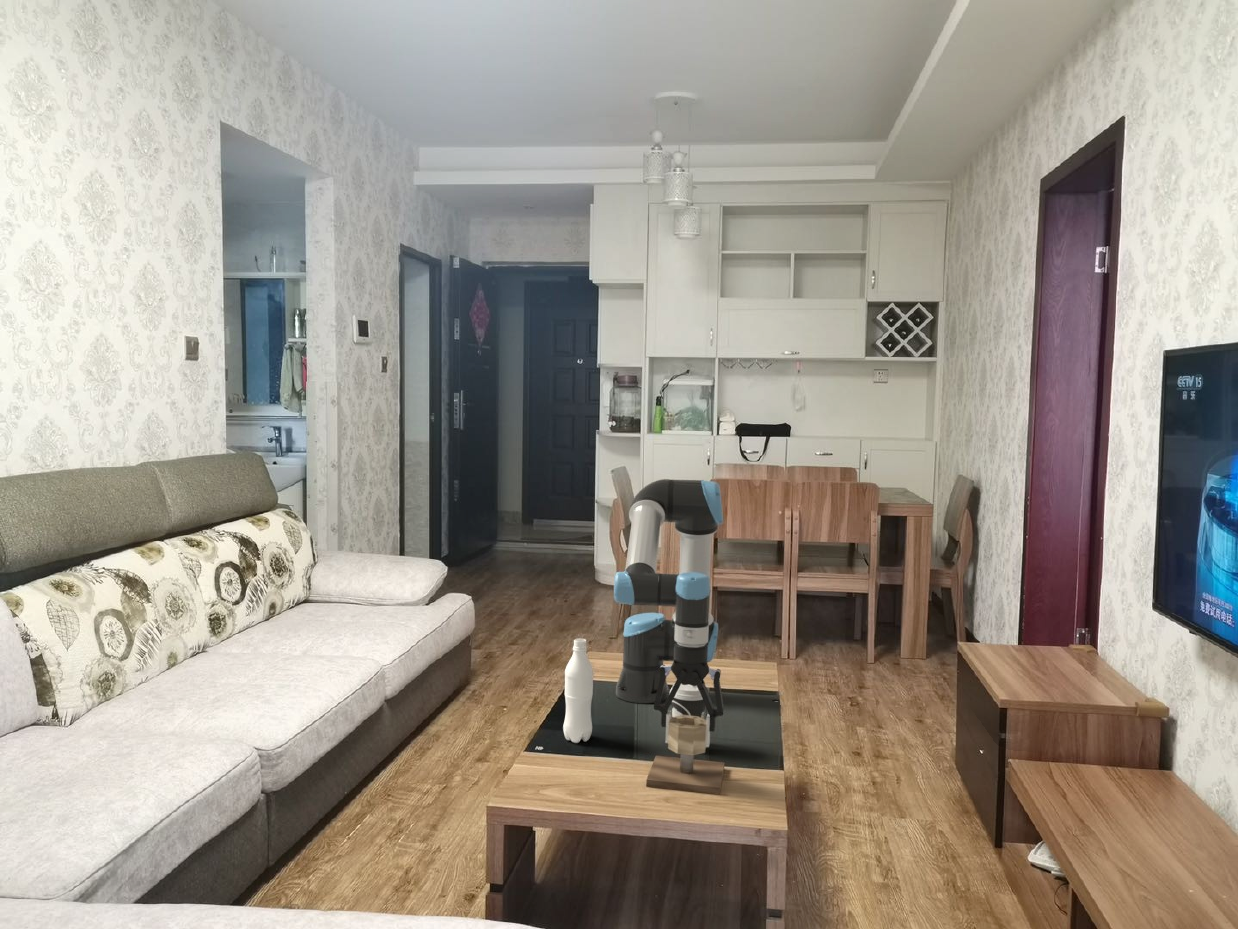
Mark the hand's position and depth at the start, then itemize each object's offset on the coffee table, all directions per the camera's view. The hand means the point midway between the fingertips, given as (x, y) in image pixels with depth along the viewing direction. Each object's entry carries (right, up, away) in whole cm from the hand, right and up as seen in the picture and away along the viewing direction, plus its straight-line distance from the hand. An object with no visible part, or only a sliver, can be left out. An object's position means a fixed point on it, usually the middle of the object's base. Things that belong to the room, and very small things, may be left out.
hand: (687, 743), depth 201 cm
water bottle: (-26, -6, +22) cm, 34 cm away
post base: (0, -8, +1) cm, 8 cm away
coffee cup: (+1, -7, +20) cm, 21 cm away
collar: (0, -1, 0) cm, 1 cm away
